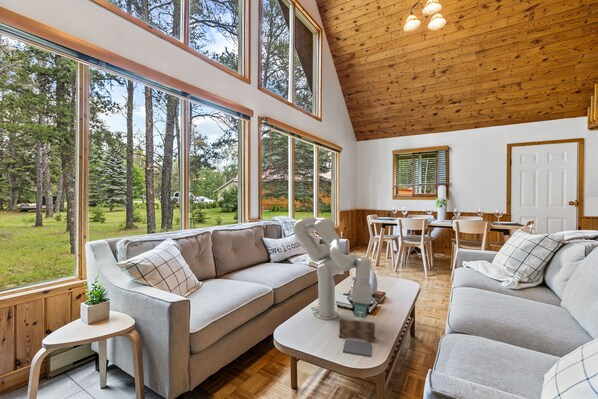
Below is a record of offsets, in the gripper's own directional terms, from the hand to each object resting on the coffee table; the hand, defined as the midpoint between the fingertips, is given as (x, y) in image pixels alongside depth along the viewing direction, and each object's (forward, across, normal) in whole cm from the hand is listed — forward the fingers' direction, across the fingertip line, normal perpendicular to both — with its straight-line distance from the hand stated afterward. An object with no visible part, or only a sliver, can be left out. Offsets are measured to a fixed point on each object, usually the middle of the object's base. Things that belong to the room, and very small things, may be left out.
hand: (360, 313), depth 149 cm
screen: (+6, 0, -13) cm, 14 cm away
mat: (+6, 0, -23) cm, 23 cm away
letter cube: (+1, 0, 0) cm, 1 cm away
